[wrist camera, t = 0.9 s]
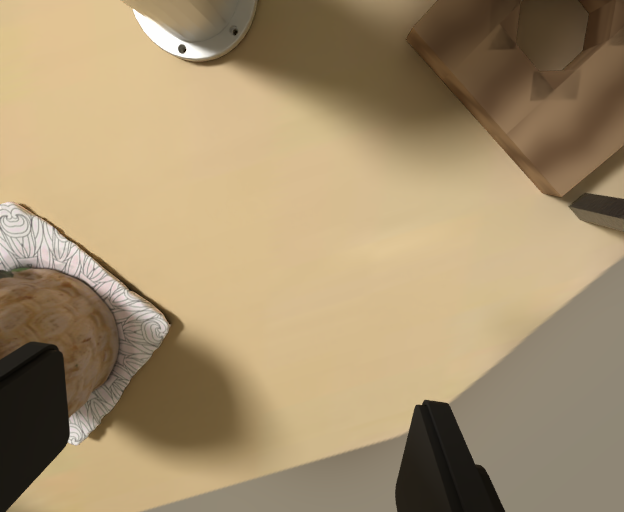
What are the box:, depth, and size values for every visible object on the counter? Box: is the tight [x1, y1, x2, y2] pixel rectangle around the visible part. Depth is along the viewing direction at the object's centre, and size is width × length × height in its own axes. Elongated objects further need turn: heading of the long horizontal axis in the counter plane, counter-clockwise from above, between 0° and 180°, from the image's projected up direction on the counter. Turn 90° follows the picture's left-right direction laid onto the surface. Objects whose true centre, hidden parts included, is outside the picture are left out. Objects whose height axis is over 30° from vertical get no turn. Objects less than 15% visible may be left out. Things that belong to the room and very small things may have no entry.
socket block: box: [406, 0, 624, 197], centre depth 33 cm, size 21×18×4 cm
